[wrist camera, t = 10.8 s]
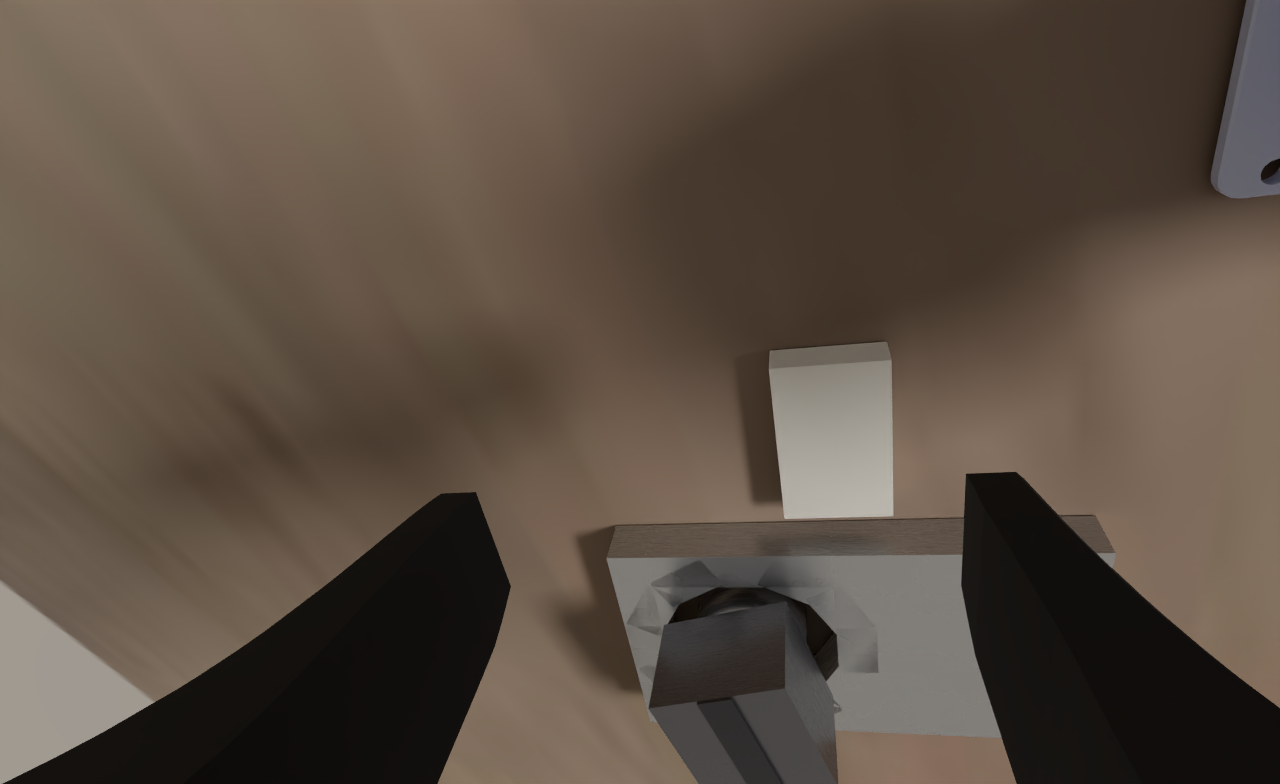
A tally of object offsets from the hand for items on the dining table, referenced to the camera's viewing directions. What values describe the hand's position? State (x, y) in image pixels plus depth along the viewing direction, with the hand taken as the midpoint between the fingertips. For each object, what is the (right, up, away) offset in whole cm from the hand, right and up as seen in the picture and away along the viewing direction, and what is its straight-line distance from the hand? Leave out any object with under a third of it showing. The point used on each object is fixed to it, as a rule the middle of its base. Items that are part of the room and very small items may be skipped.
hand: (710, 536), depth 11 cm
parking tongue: (+4, +1, +10) cm, 11 cm away
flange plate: (+6, -5, +13) cm, 15 cm away
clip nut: (+3, -5, +14) cm, 15 cm away
